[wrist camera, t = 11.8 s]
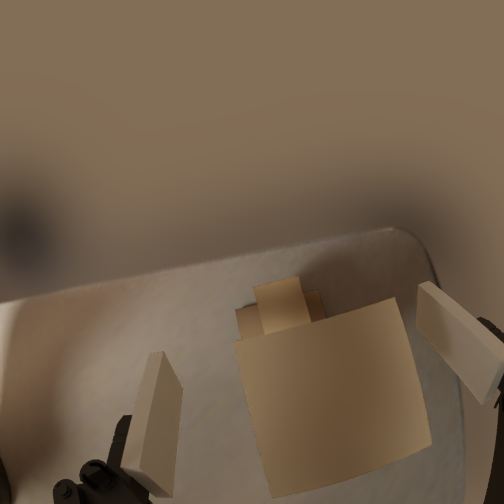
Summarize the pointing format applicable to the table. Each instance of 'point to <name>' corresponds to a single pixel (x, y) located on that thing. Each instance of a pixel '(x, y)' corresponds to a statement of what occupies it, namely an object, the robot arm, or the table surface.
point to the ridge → (279, 308)
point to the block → (333, 398)
